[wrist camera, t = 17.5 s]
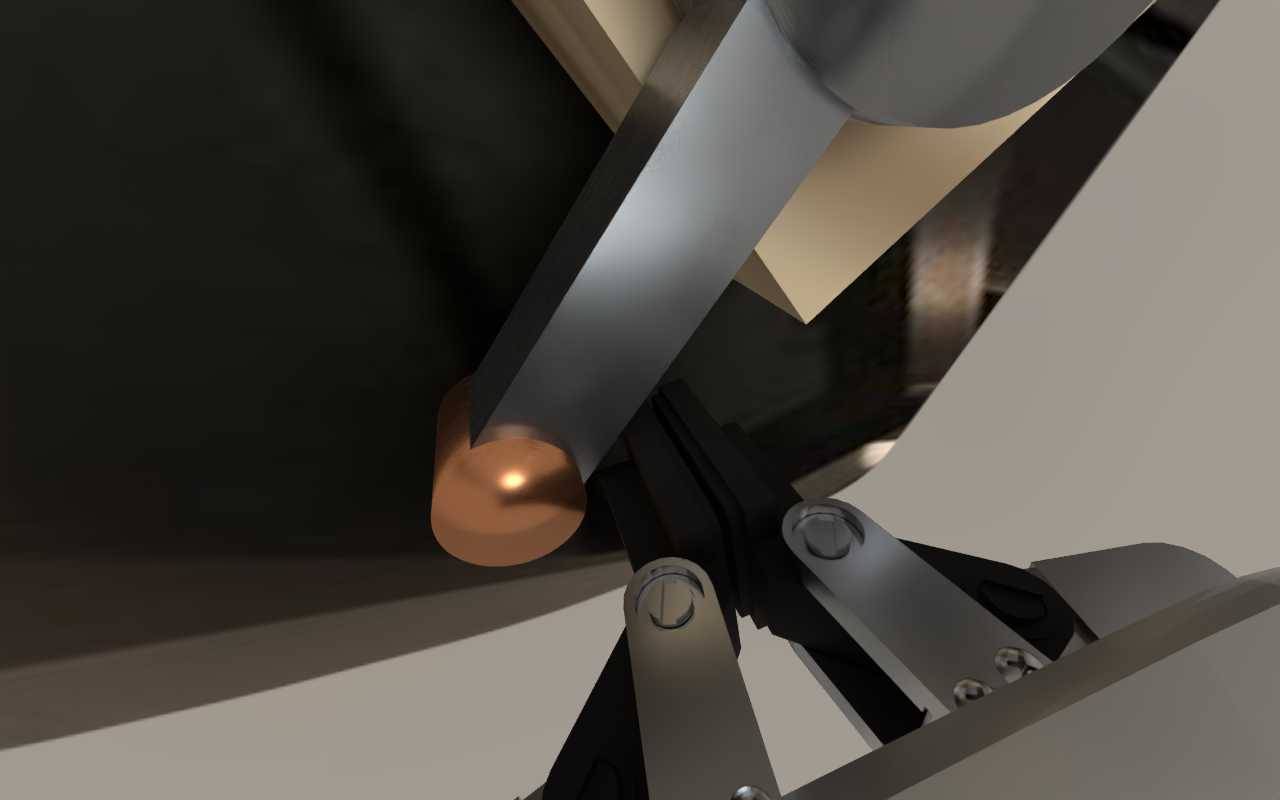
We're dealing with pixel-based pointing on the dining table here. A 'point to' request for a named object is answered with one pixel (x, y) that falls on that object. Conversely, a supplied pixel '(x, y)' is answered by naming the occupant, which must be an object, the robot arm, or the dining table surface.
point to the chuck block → (831, 192)
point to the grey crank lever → (710, 220)
